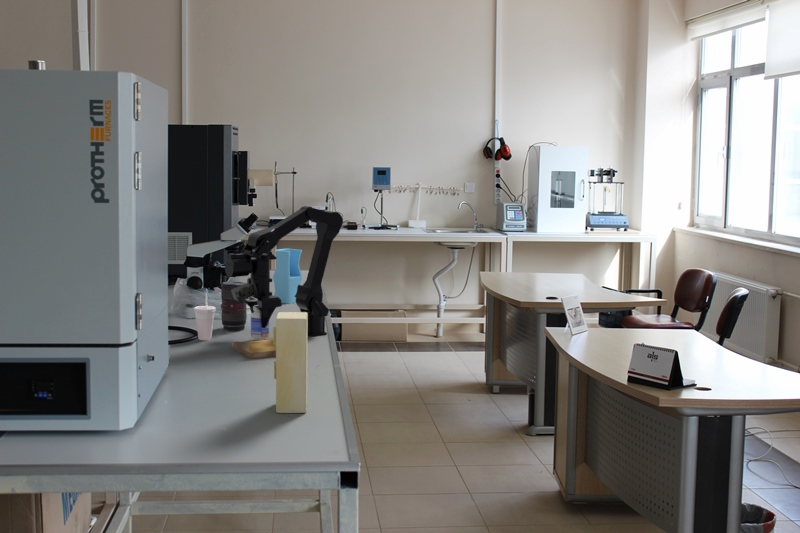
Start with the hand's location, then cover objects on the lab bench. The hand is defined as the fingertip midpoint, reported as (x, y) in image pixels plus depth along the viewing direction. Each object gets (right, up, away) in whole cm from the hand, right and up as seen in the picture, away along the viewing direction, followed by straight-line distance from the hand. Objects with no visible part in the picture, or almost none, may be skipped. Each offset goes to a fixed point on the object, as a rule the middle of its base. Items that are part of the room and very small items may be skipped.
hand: (260, 326), depth 240 cm
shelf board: (+4, -6, -11) cm, 13 cm away
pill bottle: (0, -4, 0) cm, 4 cm away
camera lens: (-11, -2, +16) cm, 20 cm away
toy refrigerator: (+18, -14, -63) cm, 67 cm away
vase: (-1, +4, +68) cm, 68 cm away
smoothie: (-17, -4, +1) cm, 17 cm away
